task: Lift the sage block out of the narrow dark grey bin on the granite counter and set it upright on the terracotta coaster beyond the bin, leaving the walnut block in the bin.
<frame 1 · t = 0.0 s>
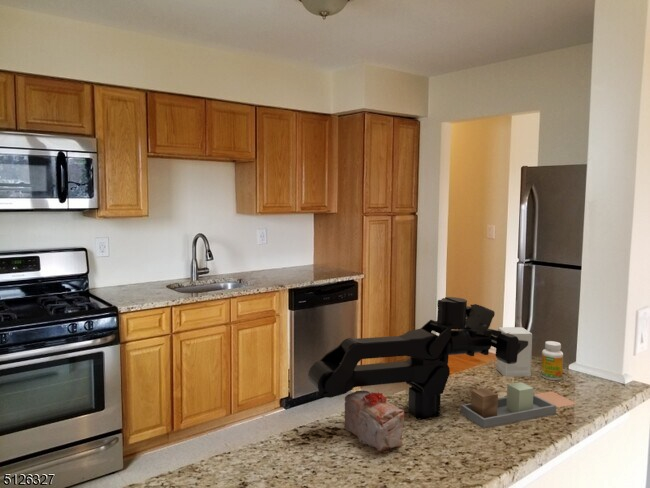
hand: (513, 338, 124), 15 cm above the worktop, tool horizontal, fingers open, 9 cm apart
walnut block: (483, 417, 113), point 1 cm above the worktop, touching bin
supplement box: (513, 374, 143), on the worktop
food item: (372, 440, 105), on the worktop, touching arm
sage block: (519, 411, 117), point 1 cm above the worktop, touching bin
coaster: (551, 401, 123), on the worktop
bin: (507, 415, 115), on the worktop
supplement bottle: (551, 377, 140), on the worktop
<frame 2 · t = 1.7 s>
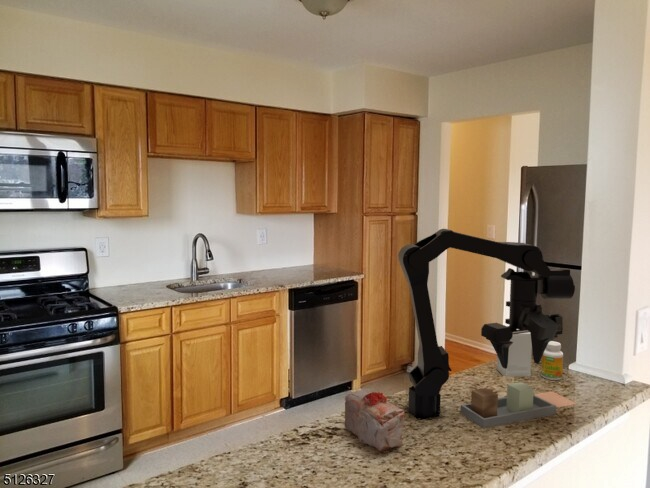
hand: (520, 365, 115), 11 cm above the worktop, tool pointing down, fingers open, 9 cm apart
food item: (373, 440, 105), on the worktop
everything else where it was.
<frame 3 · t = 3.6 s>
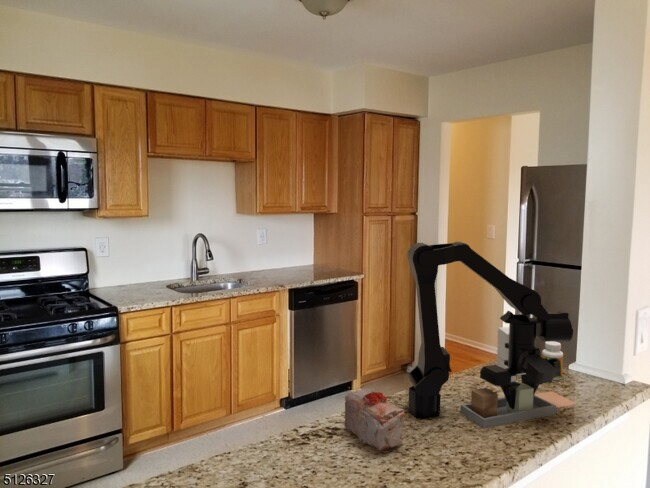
hand: (519, 406, 116), 2 cm above the worktop, tool pointing down, fingers closed on sage block, 4 cm apart
sage block: (519, 411, 117), point 1 cm above the worktop, touching bin, gripper
everything else where it was.
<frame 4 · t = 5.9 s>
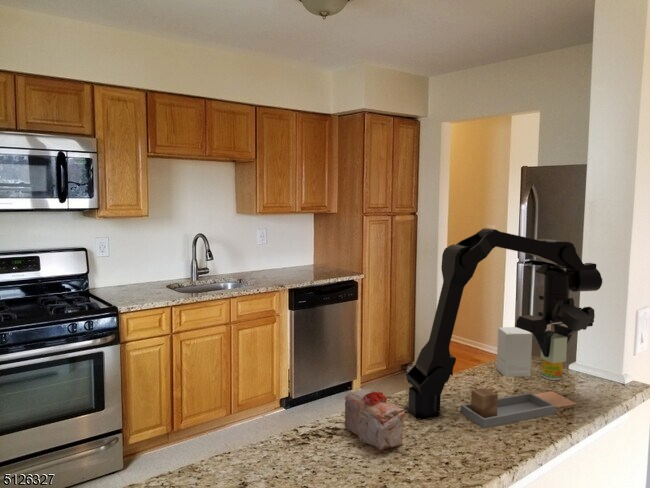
hand: (553, 355, 122), 12 cm above the worktop, tool pointing down, fingers closed on sage block, 4 cm apart
sage block: (553, 359, 122), point 11 cm above the worktop, touching gripper
everything else where it was.
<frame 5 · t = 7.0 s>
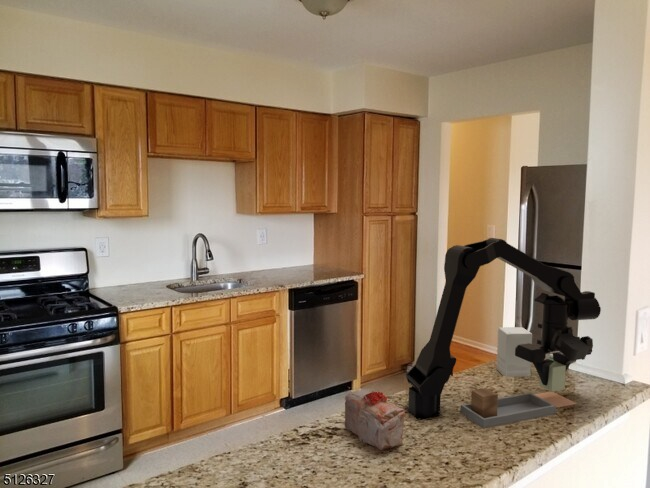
hand: (551, 383, 123), 5 cm above the worktop, tool pointing down, fingers closed on sage block, 4 cm apart
sage block: (551, 387, 123), point 4 cm above the worktop, touching gripper
everything else where it was.
when the fingers open (3 cm above the worktop, at t = 8.1 s): sage block drops 1 cm, resting on coaster.
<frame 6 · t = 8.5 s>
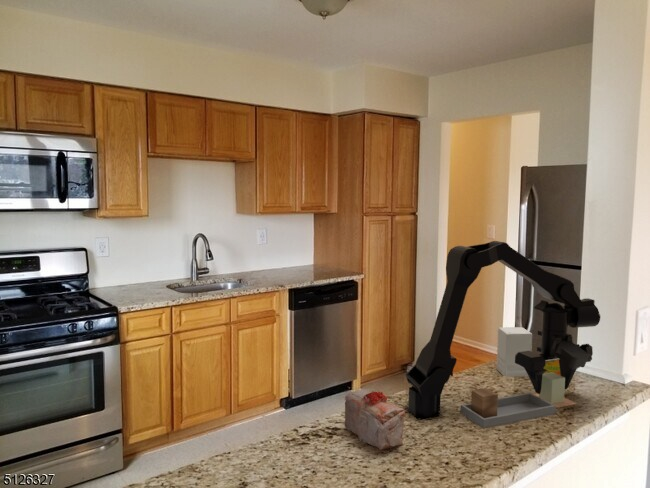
hand: (551, 390, 123), 3 cm above the worktop, tool pointing down, fingers open, 8 cm apart
sage block: (551, 399, 123), point 1 cm above the worktop, touching coaster
everything else where it was.
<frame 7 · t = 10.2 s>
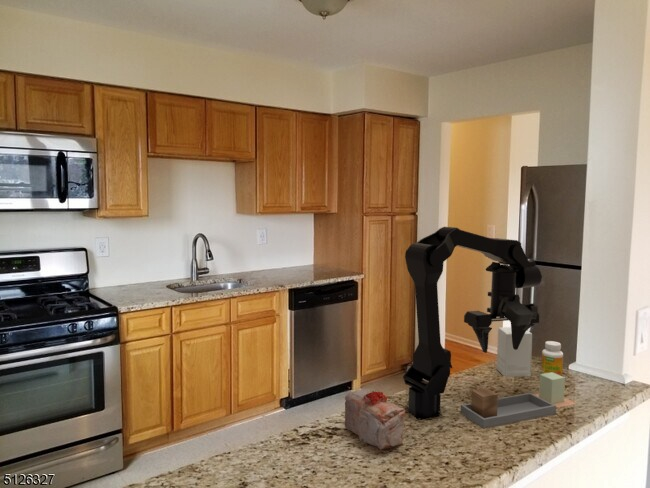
hand: (500, 350, 126), 12 cm above the worktop, tool pointing down, fingers open, 9 cm apart
nothing on the worktop moved.
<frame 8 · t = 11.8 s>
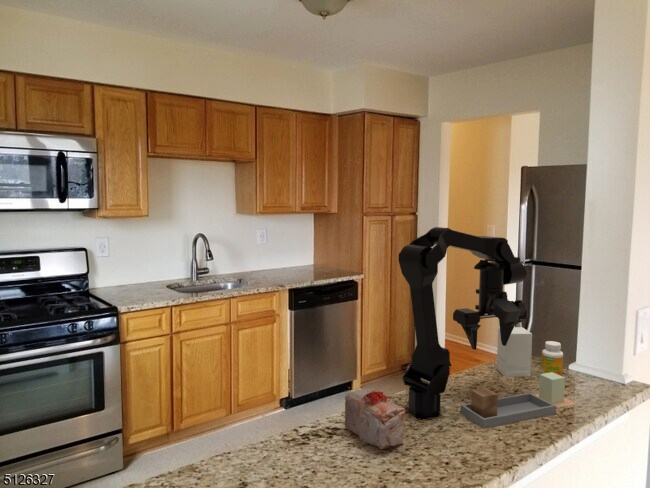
hand: (489, 347, 127), 12 cm above the worktop, tool pointing down, fingers open, 9 cm apart
nothing on the worktop moved.
at the end: sage block inside the target area on the coaster (0.1 cm from its centre), point 0.6 cm above the coaster's base; sage block tilted 0°; walnut block moved 0.0 cm from its start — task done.
